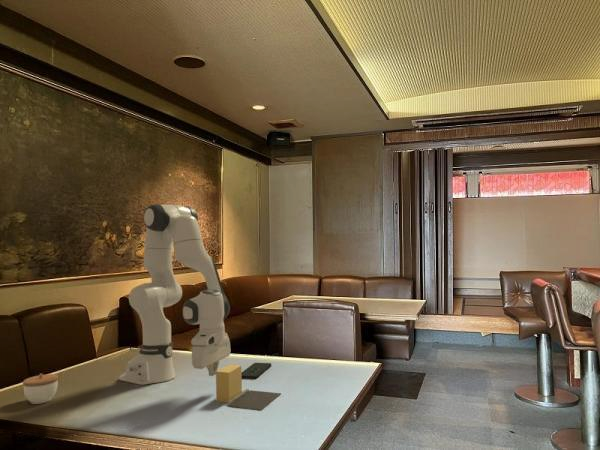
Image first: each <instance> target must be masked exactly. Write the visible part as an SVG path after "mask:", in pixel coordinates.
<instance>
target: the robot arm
mask: <svg viewBox="0 0 600 450" xmlns="http://www.w3.org/2000/svg"><path fill="white" fill-rule="evenodd" d="M198 216H199V215H198V213H197V210H196V209H194V208H193V207H191V206H188V205H179V204H175V203H174V204H160V203H156V204H155V203H154V204H151V205H148V206H147V207H146V209H145V210H144V212H143V217H142V219H143V223H144V225H145V227H146V228H147V229H146V233H145V238H144V249H143V250H144V251H143V252H144V253H143V254H144V255H143V267H144V269H145V270H146V271H147V272H148V273H149V275H150V279H151V282H146V283H145V282H144V283H142V284H138V285H137V286H134V287H133V288H132V289H131V290H130V292H129V293H128V302H129V303H128V304H129V305H130V307H131V308H132V309H133V310H135V312H137V314H138V315H139V316H138V317H139V319H140V321H141V326H142V344H140V345H138V346H137V345H136V346H137V348H136V349H137V350H138V349H139V352H138V354H137V355H135V356H134V357H133V358H132V359H130V360H129V361H128V362H127V364H126V366H125V372H124V373H123V374H121V375H120V376H119V379H118V380H119V381H123V382H127V383H132V384H136V385H141V386H143V385H148V384H156V383H157V384H158V383H162V382H166V381H167V382H168V381H171V380H172V379H174V378H176V376H177V375H176V372H175V369H174V361H173V341H172V324H171V321H170V320H169V319H168V318H167V317H166V316H165V313H164V308H167V307H171V306H173V305H176V304H177V303H178V302H180V301H181V299H182V298H183V289H182V286H181V285H180V284H179V283H178V281H177V280H176V277H175V273H174V270H173V254H174V256H175V259H176V260H177V261H178V262H179V263H180V264H181V265H183V266H184V267H187V268H190V269H193V270H195V271H197V272H199V273H200V274H201V275H202V276H203V278H204V281H205V284H206V287H207V289H203V290H201V291H200V293H199V294H198V295H196V296H195V297H192V298H190V299H187V300H186V301H184V303H183V305H182V309H181V315H182V319H183V320H184V322H185V323H187V325H194V326H195V325H199V331H198V332H197V334H196V335H195V336H193V337H192V339H191V340H190V341H191V342H190V343H191V345H192V349H191V364H192V367H193V369H197V370H198V369H199V370H202V369H205V368H206V369H207V371H208V376H209V377H213V376H216V371H218V368H219V365H220V361H221V360H222V359H225V358H228V357H229V356H230V355H231V350H232V349H231V341H230V337H229V335H228V333H227V332H226V331H225V323H224V321H225V320H226V319H227V317H228V316H229V314H230V310H231V305H230V303H229V300H228V298H227V296H226V294H225V291H224V288H223V283H222V282H221V278H220V275H219V272H218V269H217V266H216V263H215V261H214V258H213V257H212V256H211V255H209V253H208V251H207V250H206V249H205V245H204V242H203V236H202V232H201V228H200V225H199V221H198V220H199V218H198ZM173 251H174V253H173Z"/></svg>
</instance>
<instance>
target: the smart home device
mask: <svg viewBox="0 0 600 450" xmlns="http://www.w3.org/2000/svg"><path fill="white" fill-rule="evenodd" d="M271 367H272V363H271V362H253V363H251V364H250V365H249V366H248V367H247V368H245V369H244V370H243V371H241V375H242V379H243V380H244V379H245V380H257V379H259V378H260V377H261V376H262V375H263V374H264V373H265V372H266V371H268V370H269V369H270V368H271Z"/></svg>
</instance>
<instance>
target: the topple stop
mask: <svg viewBox="0 0 600 450" xmlns="http://www.w3.org/2000/svg"><path fill="white" fill-rule="evenodd" d="M281 395H282V393H280V392H279V393H278V392H273V391H272V392H270V391H261V390H260V391H259V390H250V389H249V388H245V389H244V390H242V392H241V393H240V394H238V395H237V396H235V397H234V398H232V399H231V400H229V401H228V402H226V406H228V407H231V408H236V409H245V410H246V409H247V410H252V411H253V410H255V411H263V410H264V409H265V408H266V407H268V406H269V405H270V404H271V403H273V402H274V401H275V400H276V399H277V398H278V397H279V396H281Z"/></svg>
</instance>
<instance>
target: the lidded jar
mask: <svg viewBox="0 0 600 450" xmlns="http://www.w3.org/2000/svg"><path fill="white" fill-rule="evenodd" d="M22 385H23V394H24V397H25V399H26V400H27V401H29V402H30V404H32V405H39V404H43V403H47V402H50V401H51V400H52V398H53V397H54V396H55V395H56V393H57V391H58V385H59V375H57V374H54V373H53V374H49V373H47V374H43V373H39V375H34V376H30V377H28V378H25V379H24V380H23V381H22Z"/></svg>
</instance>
